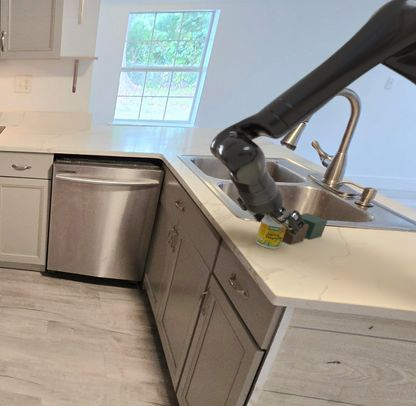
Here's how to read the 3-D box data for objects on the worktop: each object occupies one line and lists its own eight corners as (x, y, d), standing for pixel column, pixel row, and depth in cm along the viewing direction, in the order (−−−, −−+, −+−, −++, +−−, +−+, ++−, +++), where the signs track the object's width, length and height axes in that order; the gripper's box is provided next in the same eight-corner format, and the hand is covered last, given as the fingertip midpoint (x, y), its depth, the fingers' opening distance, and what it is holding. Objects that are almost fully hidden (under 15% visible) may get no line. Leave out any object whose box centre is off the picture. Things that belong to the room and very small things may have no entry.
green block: (321, 236, 101) (327, 220, 99) (309, 239, 99) (315, 223, 97) (301, 228, 105) (307, 213, 103) (289, 231, 104) (295, 215, 102)
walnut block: (303, 241, 99) (309, 225, 97) (290, 244, 97) (296, 228, 95) (283, 233, 103) (289, 217, 101) (271, 236, 102) (276, 220, 100)
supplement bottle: (273, 240, 100) (284, 208, 96) (284, 250, 95) (295, 217, 91) (251, 238, 101) (261, 207, 97) (260, 248, 96) (271, 215, 92)
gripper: (301, 189, 82) (318, 226, 90) (240, 171, 94) (260, 205, 102) (278, 215, 82) (296, 249, 90) (220, 193, 95) (241, 225, 103)
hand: (277, 225), depth 96 cm, fingers open, 8 cm apart
